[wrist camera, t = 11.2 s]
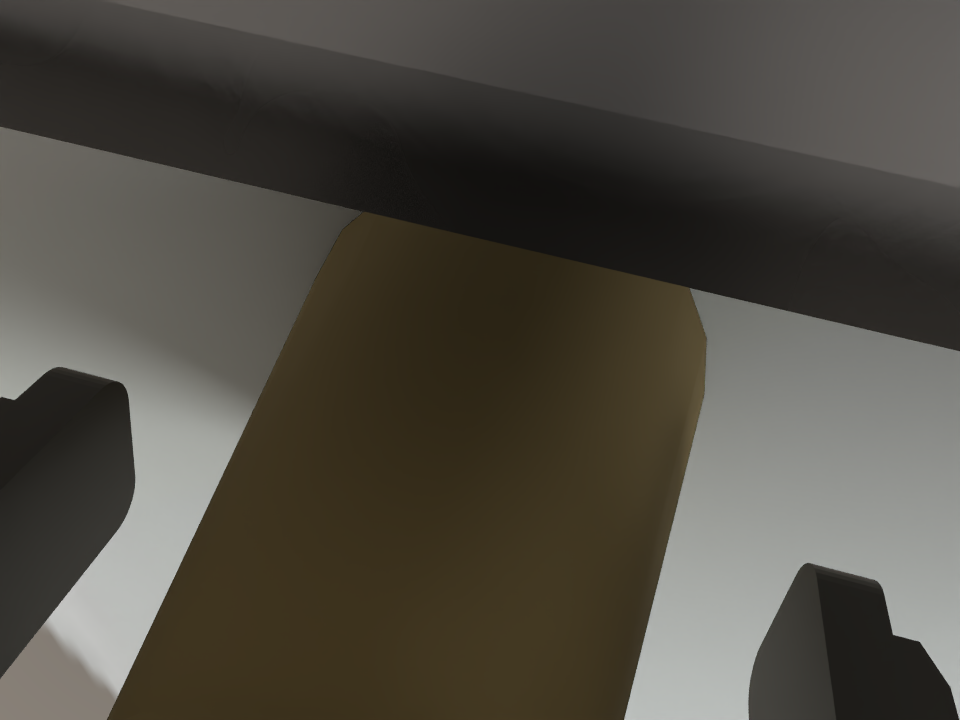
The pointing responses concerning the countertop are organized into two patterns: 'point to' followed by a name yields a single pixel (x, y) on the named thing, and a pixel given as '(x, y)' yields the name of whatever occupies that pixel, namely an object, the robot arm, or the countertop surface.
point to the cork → (439, 495)
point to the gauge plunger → (555, 128)
